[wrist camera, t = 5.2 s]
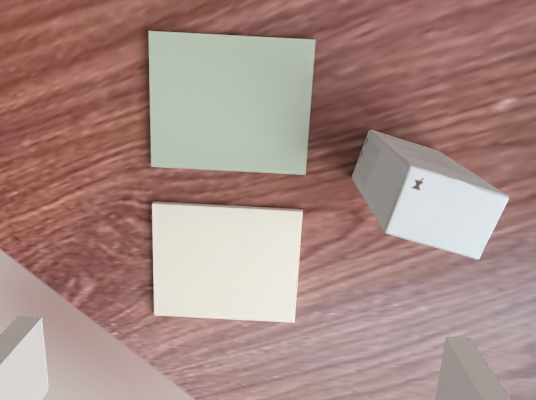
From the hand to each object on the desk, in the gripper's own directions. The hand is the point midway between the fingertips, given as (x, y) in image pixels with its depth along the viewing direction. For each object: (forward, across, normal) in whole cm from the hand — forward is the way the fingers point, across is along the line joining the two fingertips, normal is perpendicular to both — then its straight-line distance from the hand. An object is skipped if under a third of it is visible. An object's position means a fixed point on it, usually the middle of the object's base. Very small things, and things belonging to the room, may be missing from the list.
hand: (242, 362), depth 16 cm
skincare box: (+24, -10, -2) cm, 26 cm away
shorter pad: (+24, +3, -6) cm, 25 cm away
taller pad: (+24, +3, +7) cm, 25 cm away
